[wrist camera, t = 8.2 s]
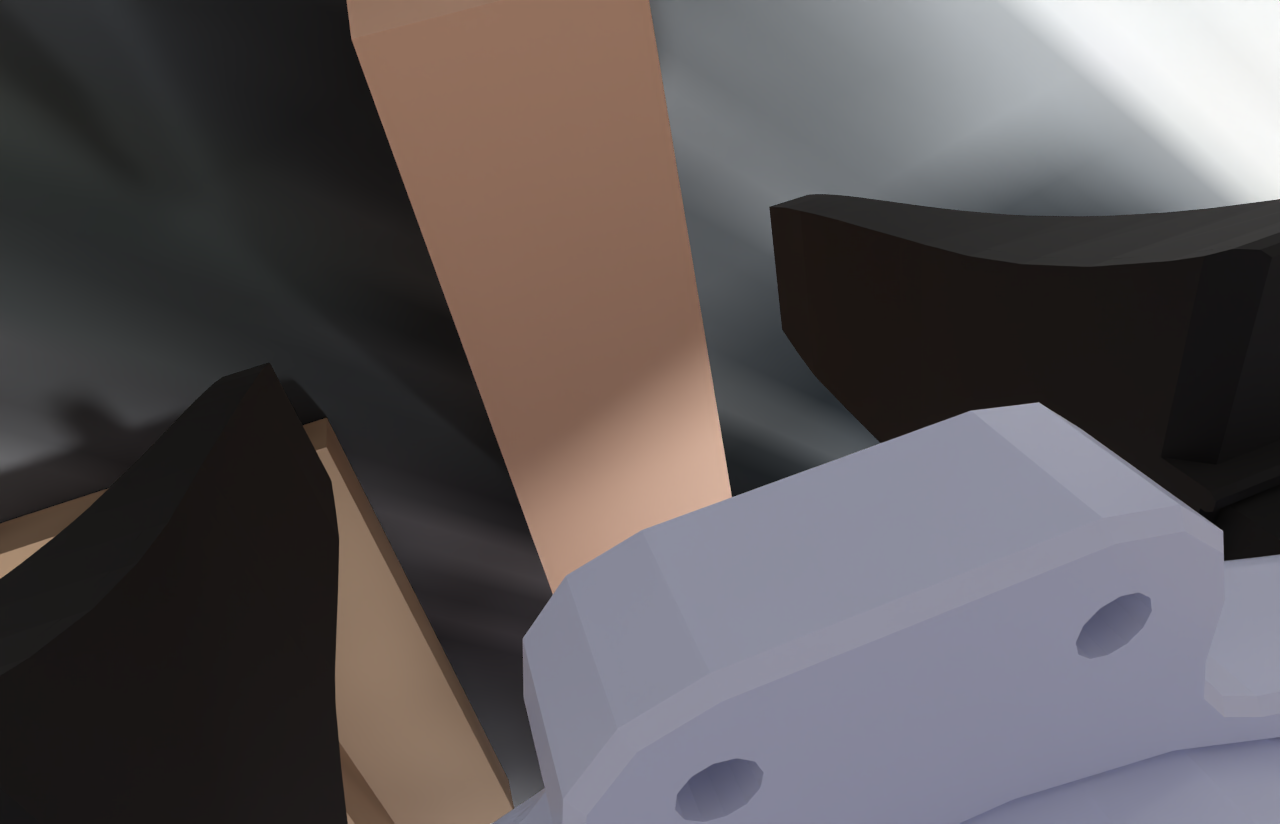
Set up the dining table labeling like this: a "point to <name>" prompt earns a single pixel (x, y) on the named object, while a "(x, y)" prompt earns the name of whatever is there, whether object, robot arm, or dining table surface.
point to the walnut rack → (369, 672)
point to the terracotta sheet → (557, 251)
